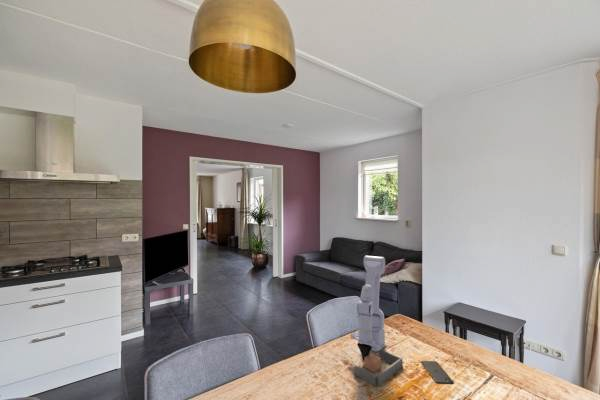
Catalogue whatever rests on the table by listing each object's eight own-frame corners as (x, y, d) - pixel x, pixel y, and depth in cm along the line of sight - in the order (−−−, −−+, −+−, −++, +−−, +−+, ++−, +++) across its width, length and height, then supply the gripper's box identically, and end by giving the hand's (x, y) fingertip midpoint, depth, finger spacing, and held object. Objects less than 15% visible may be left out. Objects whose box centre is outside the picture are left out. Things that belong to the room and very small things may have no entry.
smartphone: (436, 360, 120) (455, 382, 105) (436, 362, 120) (455, 384, 105) (419, 360, 120) (435, 382, 105) (419, 362, 120) (435, 384, 105)
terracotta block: (371, 362, 119) (371, 353, 119) (381, 367, 116) (381, 358, 116) (364, 366, 116) (364, 357, 116) (374, 372, 112) (374, 362, 112)
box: (380, 356, 124) (380, 348, 124) (402, 366, 116) (402, 358, 116) (354, 373, 111) (354, 365, 111) (377, 387, 103) (377, 377, 103)
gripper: (346, 326, 122) (346, 356, 122) (374, 337, 111) (374, 371, 111) (356, 321, 127) (356, 350, 126) (383, 332, 116) (383, 364, 115)
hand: (365, 359), depth 119 cm, fingers closed
